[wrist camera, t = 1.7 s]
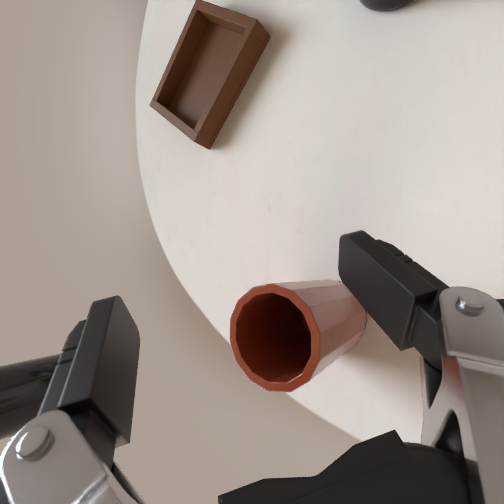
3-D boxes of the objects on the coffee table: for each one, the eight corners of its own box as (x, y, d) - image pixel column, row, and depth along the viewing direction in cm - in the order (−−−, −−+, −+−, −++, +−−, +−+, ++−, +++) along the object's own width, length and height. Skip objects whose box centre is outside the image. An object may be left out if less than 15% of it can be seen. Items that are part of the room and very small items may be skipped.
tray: (209, 149, 33) (194, 141, 31) (165, 114, 38) (149, 105, 36) (270, 37, 29) (257, 19, 27) (211, 14, 34) (196, -2, 32)
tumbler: (335, 364, 23) (276, 415, 15) (287, 313, 26) (214, 332, 18) (383, 315, 21) (345, 342, 13) (325, 265, 24) (264, 262, 16)
